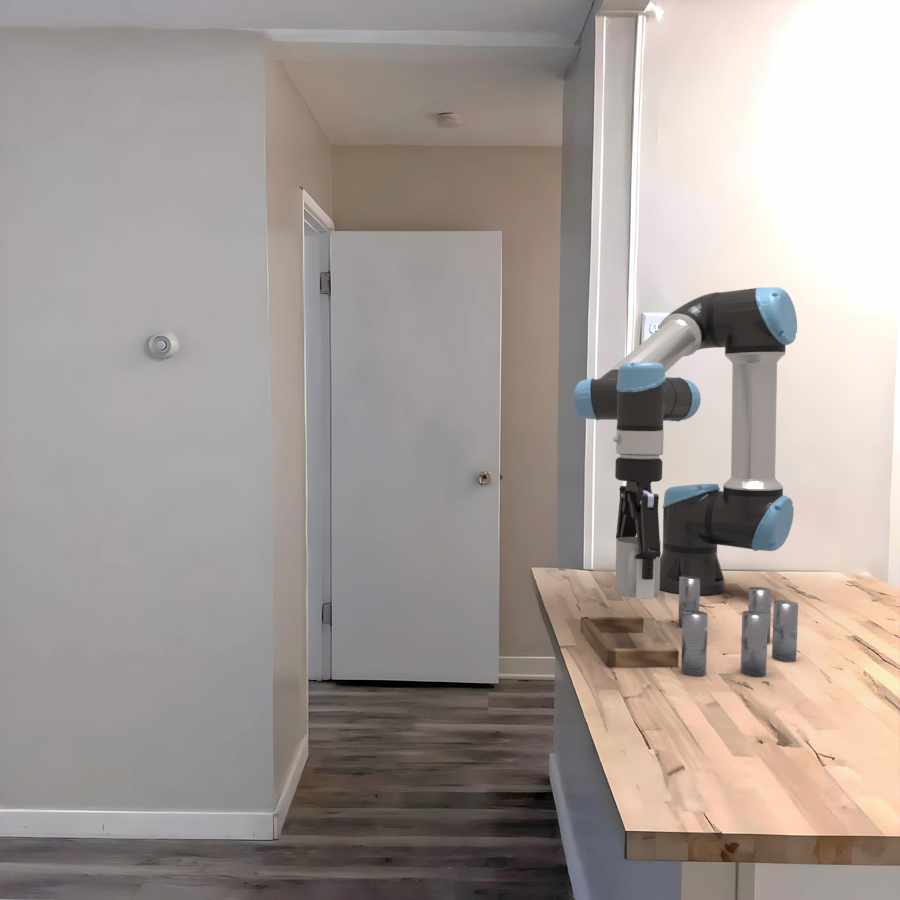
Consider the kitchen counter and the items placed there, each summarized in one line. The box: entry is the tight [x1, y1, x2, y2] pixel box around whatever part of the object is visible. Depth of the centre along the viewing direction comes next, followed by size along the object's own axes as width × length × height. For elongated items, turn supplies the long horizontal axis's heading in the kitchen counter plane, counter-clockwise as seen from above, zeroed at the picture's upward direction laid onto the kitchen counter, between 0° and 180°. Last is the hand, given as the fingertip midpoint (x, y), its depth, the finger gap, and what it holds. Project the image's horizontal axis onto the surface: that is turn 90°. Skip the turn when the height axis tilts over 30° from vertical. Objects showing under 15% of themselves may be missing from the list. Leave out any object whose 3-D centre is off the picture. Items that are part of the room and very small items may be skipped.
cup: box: [615, 536, 662, 599], centre depth 125 cm, size 7×10×9 cm
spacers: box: [677, 576, 799, 678], centre depth 126 cm, size 21×28×9 cm
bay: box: [580, 616, 680, 668], centre depth 126 cm, size 11×19×2 cm, turn 3°
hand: (635, 591), depth 125 cm, fingers closed on cup, 9 cm apart
